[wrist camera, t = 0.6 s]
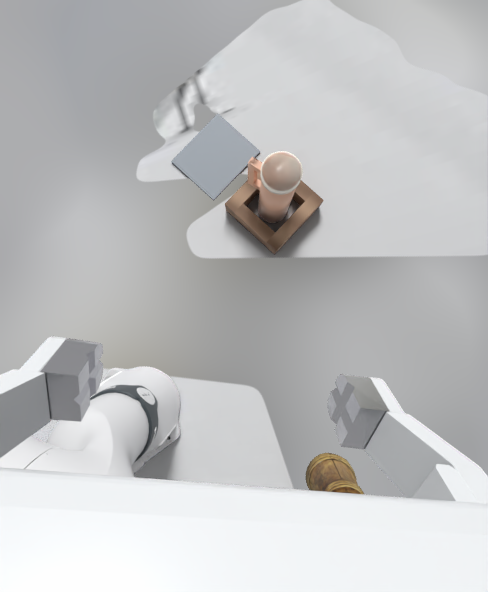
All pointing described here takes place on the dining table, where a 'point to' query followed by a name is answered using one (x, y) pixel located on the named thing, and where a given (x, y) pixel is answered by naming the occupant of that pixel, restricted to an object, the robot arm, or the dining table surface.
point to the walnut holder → (258, 228)
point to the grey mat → (215, 156)
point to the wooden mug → (331, 475)
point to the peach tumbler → (275, 183)
